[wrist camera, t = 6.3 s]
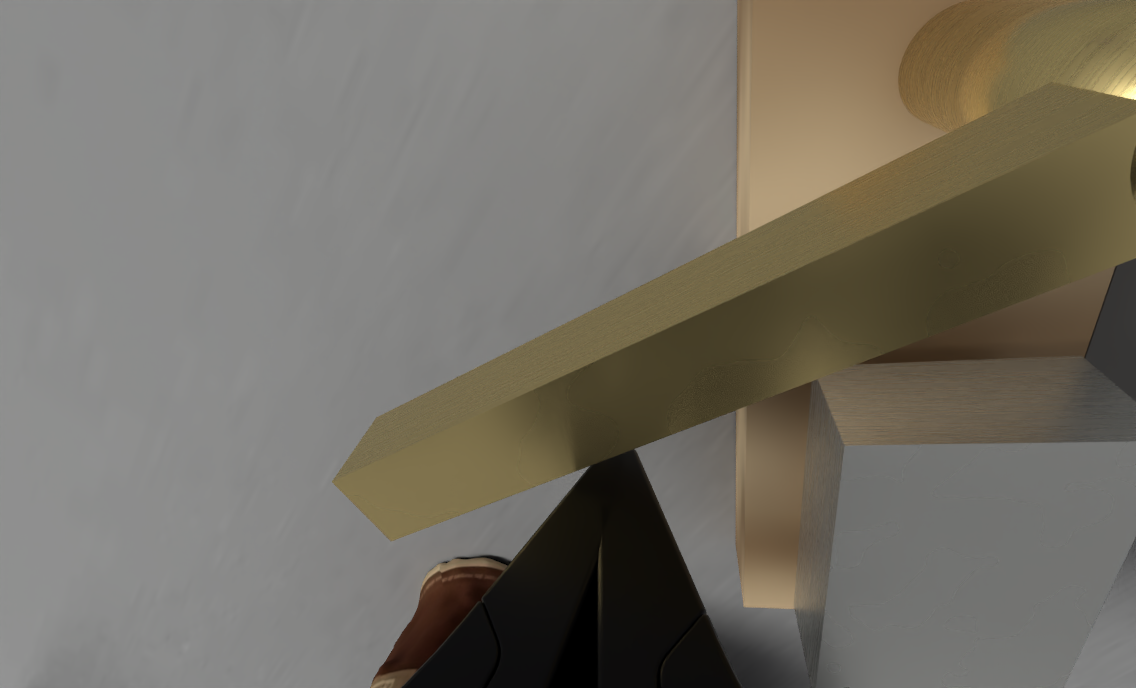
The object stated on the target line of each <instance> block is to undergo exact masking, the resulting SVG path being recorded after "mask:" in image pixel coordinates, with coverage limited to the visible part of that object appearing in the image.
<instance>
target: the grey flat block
mask: <svg viewBox="0 0 1136 688" xmlns="http://www.w3.org/2000/svg"><path fill="white" fill-rule="evenodd" d="M1135 538H1136V402H1135V401H1134V400H1133V399H1132V398H1131V397H1130V396H1128V395H1127V394H1126V393H1125V392H1124V391H1122V390H1121V389H1120V388H1119V387H1118V386H1117V385H1115V384H1114V383H1113V382H1112V381H1111V380H1110V379H1108V378H1107V377H1106V376H1105V375H1104V374H1102V373H1101V372H1100V371H1099V370H1098V369H1097V368H1095V367H1094V366H1093V365H1092V364H1091V363H1090V362H1088V361H1087V360H1086V359H1085V358H1084V357H1082V356H1063V357H1037V358H1012V359H986V360H960V361H934V362H908V363H882V364H857V365H854V366H851V367H848V368H846V369H843V370H840V371H838V372H835V373H833V374H830V375H827V376H825V377H822V378H819V379H817V380H814V381H811V392H810V405H809V418H808V430H807V443H806V456H805V469H804V481H803V494H802V507H801V520H800V532H799V545H798V558H797V571H796V583H795V596H794V609H795V614H796V618H797V623H798V628H799V632H800V637H801V642H802V646H803V651H804V656H805V661H806V665H807V670H808V675H809V679H810V684H811V688H1064V686H1065V684H1066V682H1067V680H1068V678H1069V676H1070V674H1071V671H1072V669H1073V667H1074V665H1075V663H1076V661H1077V659H1078V657H1079V655H1080V653H1081V651H1082V648H1083V646H1084V644H1085V642H1086V640H1087V638H1088V636H1089V634H1090V632H1091V630H1092V628H1093V625H1094V623H1095V621H1096V619H1097V617H1098V615H1099V613H1100V611H1101V609H1102V607H1103V604H1104V602H1105V600H1106V598H1107V596H1108V594H1109V592H1110V590H1111V588H1112V586H1113V584H1114V581H1115V579H1116V577H1117V575H1118V573H1119V571H1120V569H1121V567H1122V565H1123V563H1124V561H1125V558H1126V556H1127V554H1128V552H1129V550H1130V548H1131V546H1132V544H1133V542H1134V540H1135Z"/></svg>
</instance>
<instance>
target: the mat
mask: <svg viewBox="0 0 1136 688" xmlns="http://www.w3.org/2000/svg"><path fill="white" fill-rule="evenodd" d="M1084 358H1085V359H1086V360H1087V361H1088V362H1090V363H1091V364H1092V365H1093V366H1094V367H1095V368H1097V369H1098V370H1099V371H1100V372H1101V373H1102V374H1104V375H1105V376H1106V377H1107V378H1108V379H1110V380H1111V381H1112V382H1113V383H1114V384H1115V385H1117V386H1118V387H1119V388H1120V389H1121V390H1122V391H1124V392H1125V393H1126V394H1127V395H1128V396H1130V397H1131V398H1132V399H1133V400H1134V401H1135V402H1136V258H1135V259H1132V260H1130V261H1127V262H1124V263H1122V264H1119V265H1117V266H1115V269H1114V272H1113V275H1112V278H1111V281H1110V284H1109V287H1108V290H1107V292H1106V295H1105V298H1104V301H1103V304H1102V307H1101V310H1100V313H1099V316H1098V319H1097V322H1096V324H1095V327H1094V330H1093V333H1092V336H1091V339H1090V342H1089V345H1088V348H1087V351H1086V354H1085V356H1084Z"/></svg>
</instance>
